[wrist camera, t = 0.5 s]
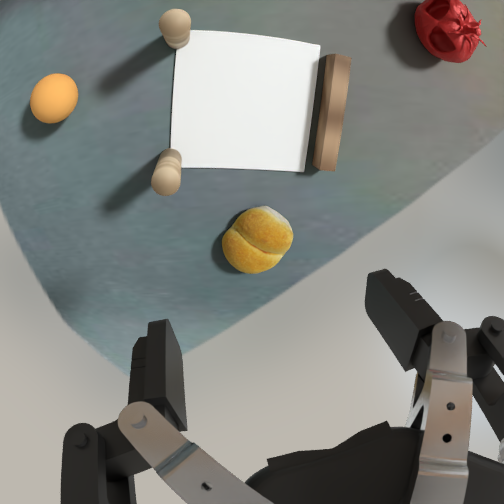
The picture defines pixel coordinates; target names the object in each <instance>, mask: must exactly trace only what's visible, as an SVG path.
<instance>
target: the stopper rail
mask: <svg viewBox="0 0 504 504" xmlns="http://www.w3.org/2000/svg"><path fill="white" fill-rule="evenodd" d="M350 65H351V57H347V56H343V55H339V54H331V55H327V56H326V65H325V74H324V82H323V90H322V98H321V106H320V113H319V120H318V128H317V135H316V142H315V149H314V155H313V162H312V165H313V166H315V167H316V168H318V169H319V170H325V171H335V168H336V162H337V156H338V150H339V144H340V138H341V131H342V125H343V118H344V111H345V104H346V97H347V90H348V82H349V74H350Z"/></svg>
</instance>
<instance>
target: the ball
mask: <svg viewBox="0 0 504 504" xmlns="http://www.w3.org/2000/svg"><path fill="white" fill-rule="evenodd" d="M77 100H78V89H77V86H76V84H75V82H74V81H73V80H72V79H71V78H70V77H69V76H67V75H64V74H59V73H57V74H51V75H48V76H46V77H44V78H43V79H42V80H40V81H39V82H38V83H37V85H36V86H35V87H34V89H33V91H32V94H31V98H30V106H31V110H32V112H33V114H34V116H35V117H36V118H37V119H38V120H40V121H42V122H45V123H57V122H60V121H62V120H64V119H65V118H66V117H68V116H69V115H70V114H71V113H72V111H73V110H74V108H75V106H76V104H77Z"/></svg>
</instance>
